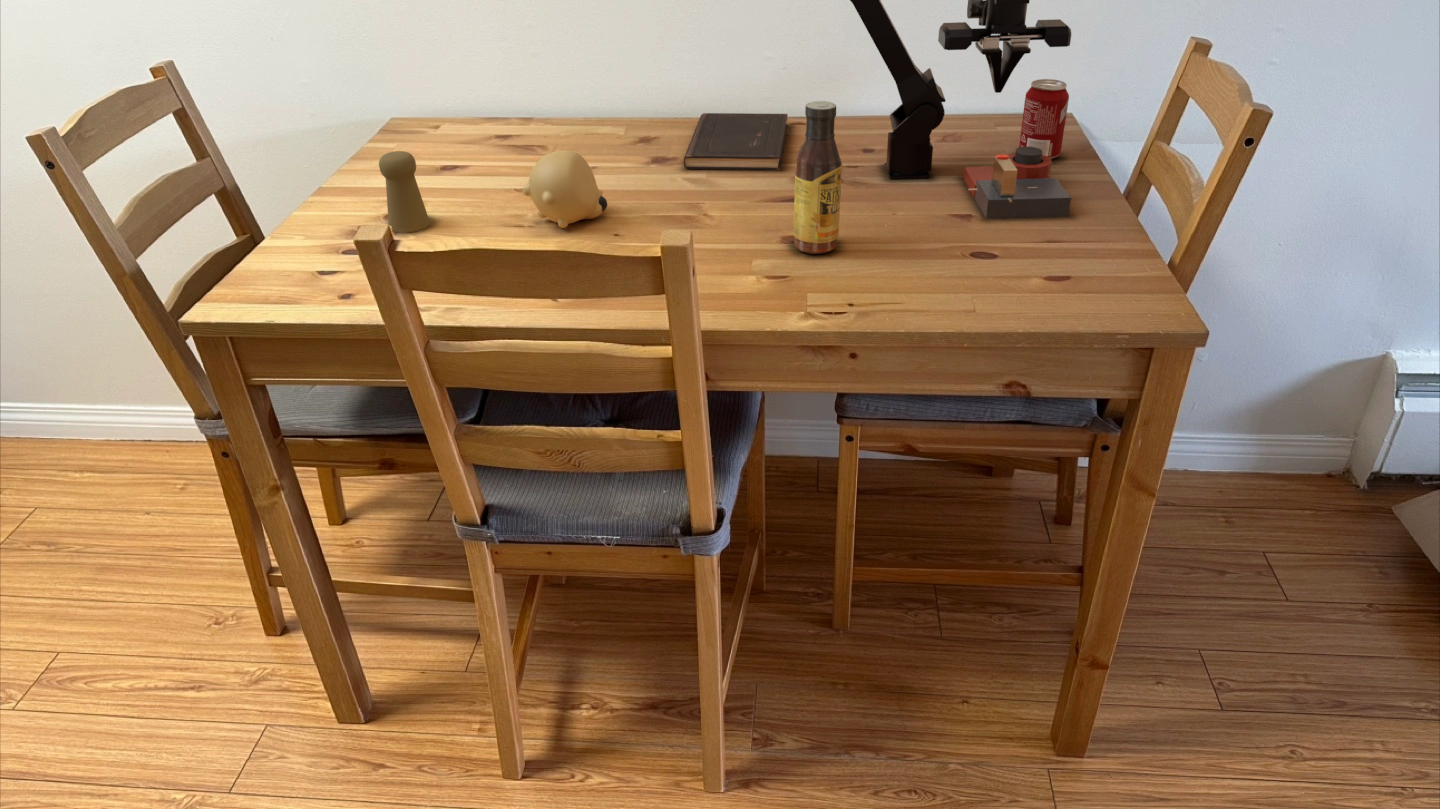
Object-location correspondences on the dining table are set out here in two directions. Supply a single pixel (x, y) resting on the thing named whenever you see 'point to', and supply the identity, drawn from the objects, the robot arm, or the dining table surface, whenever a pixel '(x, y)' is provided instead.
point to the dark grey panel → (1023, 199)
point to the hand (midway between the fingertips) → (997, 91)
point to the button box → (1022, 170)
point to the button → (1028, 155)
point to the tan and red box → (1004, 175)
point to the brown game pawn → (403, 193)
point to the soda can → (1045, 116)
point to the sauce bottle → (818, 182)
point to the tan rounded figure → (564, 188)
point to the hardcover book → (737, 142)
